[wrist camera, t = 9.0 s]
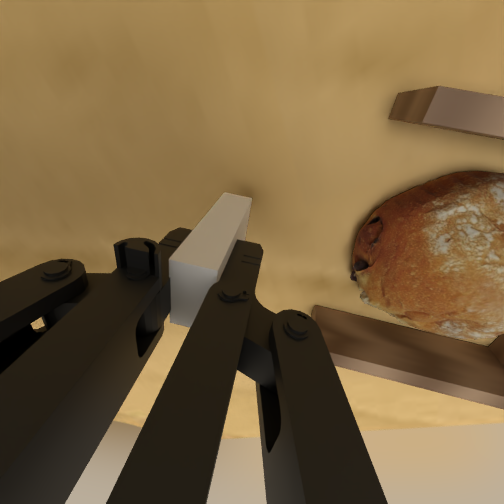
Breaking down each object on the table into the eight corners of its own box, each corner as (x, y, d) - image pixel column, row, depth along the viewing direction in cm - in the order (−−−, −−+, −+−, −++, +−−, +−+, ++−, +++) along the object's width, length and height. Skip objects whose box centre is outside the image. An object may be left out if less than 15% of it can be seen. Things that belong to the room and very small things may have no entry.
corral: (310, 315, 21) (312, 359, 18) (398, 93, 13) (439, 85, 9) (493, 359, 20) (538, 418, 16) (721, 149, 12) (924, 168, 8)
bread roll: (450, 271, 21) (586, 334, 14) (343, 315, 20) (432, 409, 13) (464, 150, 17) (672, 154, 10) (327, 198, 16) (450, 243, 8)
